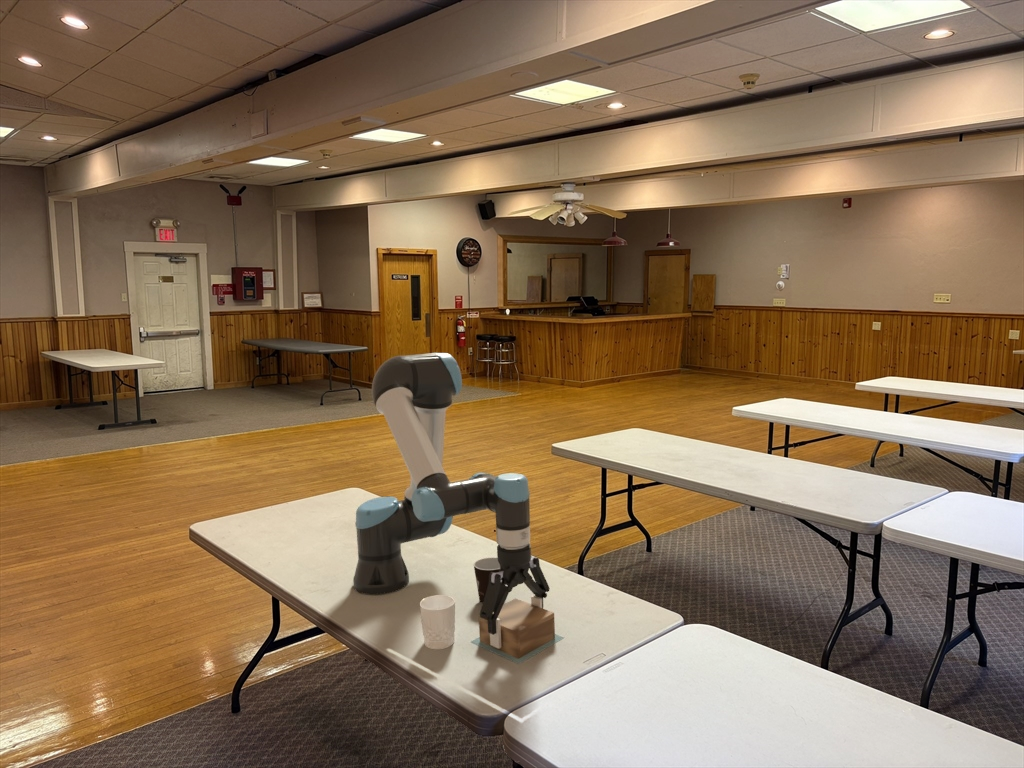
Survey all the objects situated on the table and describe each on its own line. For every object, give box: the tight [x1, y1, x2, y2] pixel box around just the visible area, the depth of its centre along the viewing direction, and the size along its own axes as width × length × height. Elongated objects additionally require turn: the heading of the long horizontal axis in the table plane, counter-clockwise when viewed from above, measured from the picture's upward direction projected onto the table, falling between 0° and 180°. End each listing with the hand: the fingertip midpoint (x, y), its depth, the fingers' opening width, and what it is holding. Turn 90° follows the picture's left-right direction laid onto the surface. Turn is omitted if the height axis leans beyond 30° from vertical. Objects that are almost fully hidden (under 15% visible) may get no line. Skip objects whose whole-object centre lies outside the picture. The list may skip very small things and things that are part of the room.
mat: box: [470, 633, 565, 665], centre depth 159 cm, size 15×15×1 cm
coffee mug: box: [473, 556, 507, 604], centre depth 182 cm, size 12×9×10 cm
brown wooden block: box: [478, 598, 556, 659], centre depth 158 cm, size 12×12×6 cm
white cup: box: [419, 594, 456, 650], centre depth 158 cm, size 8×8×10 cm
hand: (517, 635), depth 158 cm, fingers open, 13 cm apart
